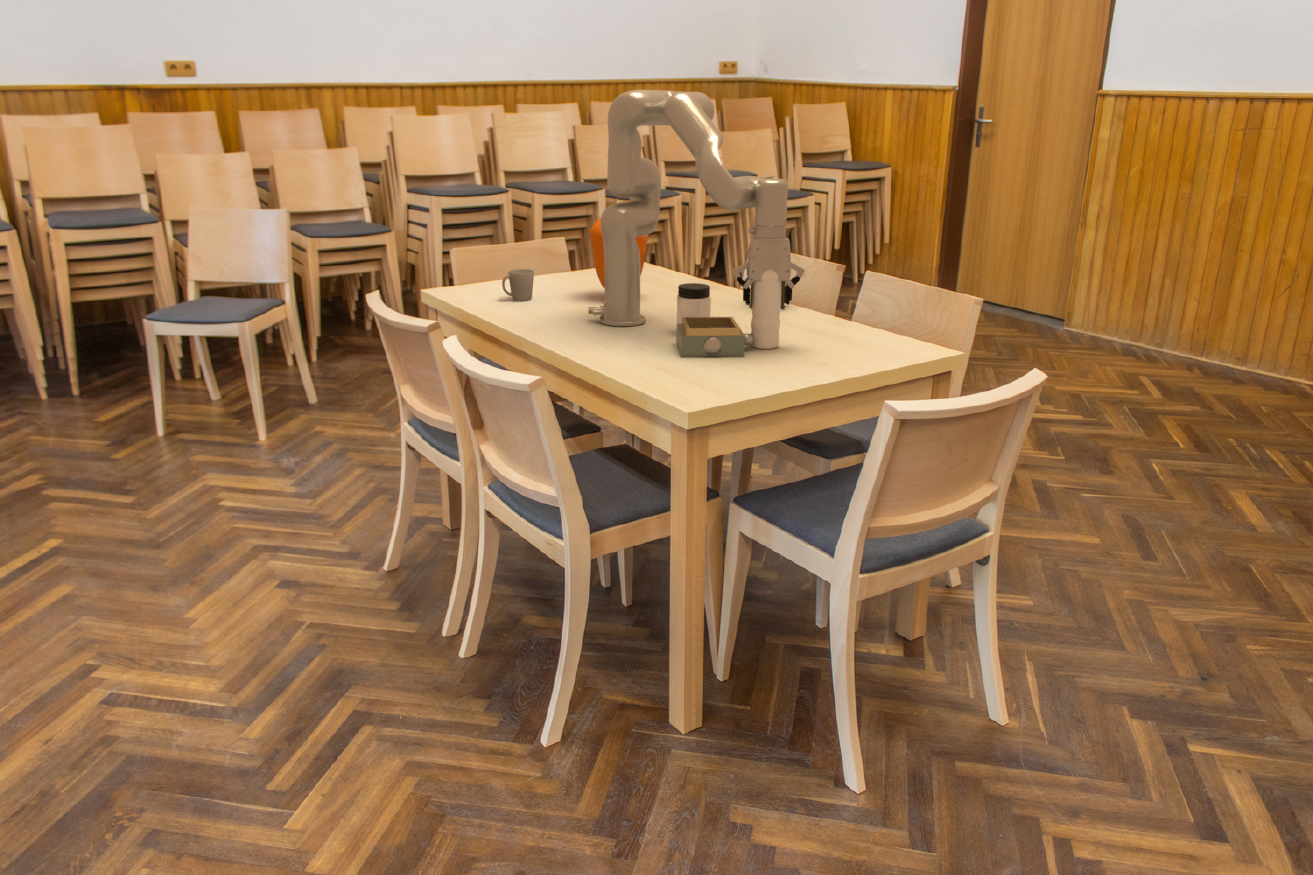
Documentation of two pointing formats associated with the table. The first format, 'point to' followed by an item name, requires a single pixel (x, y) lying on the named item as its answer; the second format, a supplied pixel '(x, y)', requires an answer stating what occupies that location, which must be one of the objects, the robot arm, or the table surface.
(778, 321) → the water bottle
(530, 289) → the cup
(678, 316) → the jar
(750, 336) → the gearbox
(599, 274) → the orange egg-shaped ornament
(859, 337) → the table surface
